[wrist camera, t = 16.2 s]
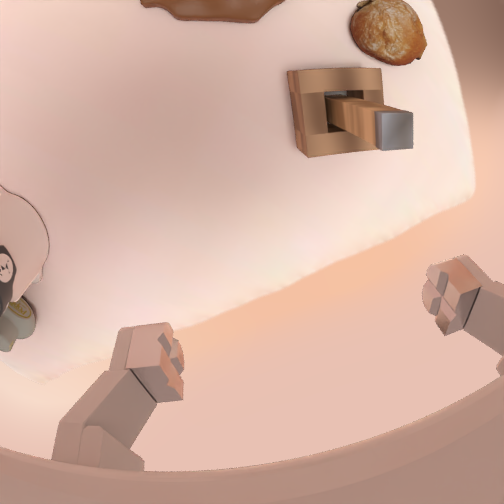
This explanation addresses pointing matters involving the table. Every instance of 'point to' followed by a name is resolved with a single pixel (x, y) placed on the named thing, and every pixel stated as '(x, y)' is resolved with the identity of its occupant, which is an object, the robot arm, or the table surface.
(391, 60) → the bread roll
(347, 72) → the square wooden socket base
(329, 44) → the table surface
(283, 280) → the table surface
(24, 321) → the air freshener
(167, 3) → the plant
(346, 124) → the upright wooden post
